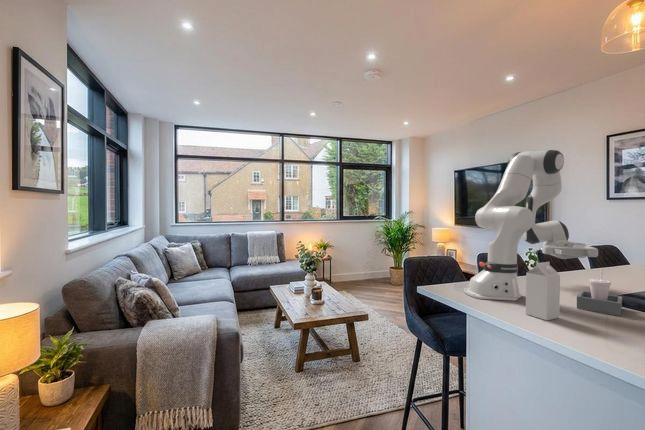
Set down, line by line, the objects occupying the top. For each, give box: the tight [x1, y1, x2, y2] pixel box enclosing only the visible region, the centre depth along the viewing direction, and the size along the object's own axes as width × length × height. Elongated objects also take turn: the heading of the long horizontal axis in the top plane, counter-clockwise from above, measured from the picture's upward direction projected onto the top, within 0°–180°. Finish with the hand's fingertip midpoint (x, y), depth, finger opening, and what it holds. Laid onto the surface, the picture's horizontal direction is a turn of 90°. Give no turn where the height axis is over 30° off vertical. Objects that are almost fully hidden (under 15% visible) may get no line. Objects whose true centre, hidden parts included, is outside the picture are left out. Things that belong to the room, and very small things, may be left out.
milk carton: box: [525, 261, 561, 321], centre depth 107 cm, size 7×7×19 cm
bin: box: [576, 290, 623, 317], centre depth 116 cm, size 12×12×4 cm
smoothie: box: [588, 269, 612, 301], centre depth 116 cm, size 6×6×14 cm
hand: (576, 253), depth 133 cm, fingers open, 8 cm apart
